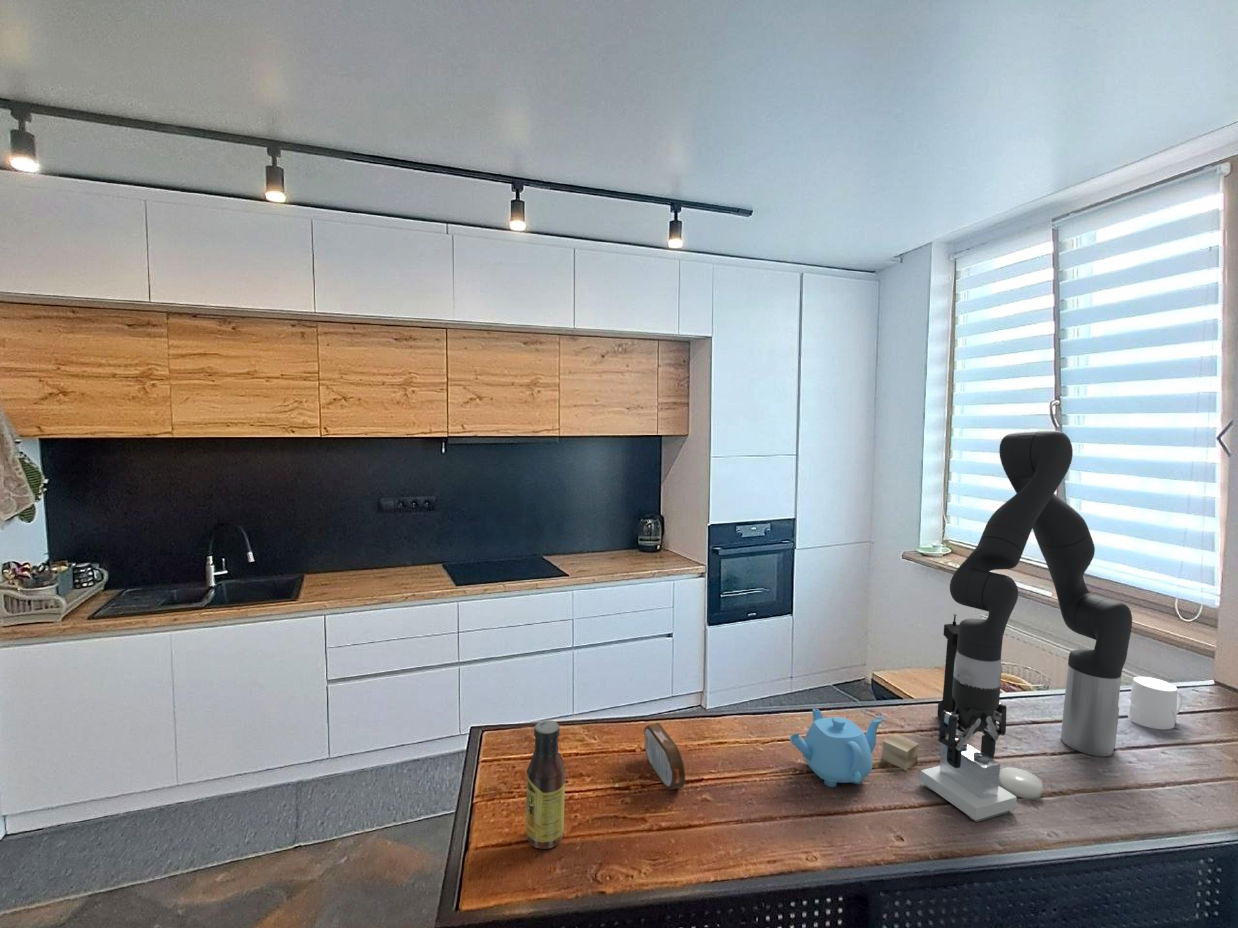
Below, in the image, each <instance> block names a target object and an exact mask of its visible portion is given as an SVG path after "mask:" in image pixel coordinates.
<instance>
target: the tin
mask: <svg viewBox="0 0 1238 928" xmlns="http://www.w3.org/2000/svg"><path fill="white" fill-rule="evenodd" d="M643 732H644V733H643V734H644V749H645V750H644V751H645V753H646V757H647V760H648V762H649V764H650V767H652V769H653V771H654V772H655V774H656V775H657V776H658V778H659V780H660V781H661V783H662V784H663V786H664V787H665V788H666V789H667V790H668V791H672V790H675V789H682V788H684V786H685V785H686V783H685V782H686V772H685V764H684V759H683V756H682V755H681V751H680V749H679V747H678V744H676V743H675V741H674V740H673V738H672V737H671V736H670V735H669V733H668V732H667V730H666V729H665V728H664V727H663V725H662V724H661V723H660V722H655V723H652V724H648V725H646V726H645V727H644V729H643Z"/></svg>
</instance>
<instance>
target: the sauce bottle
mask: <svg viewBox="0 0 1238 928" xmlns="http://www.w3.org/2000/svg"><path fill="white" fill-rule="evenodd" d="M533 729H534V730H533V736H534V738H535V739H534V742H535V743H534V750H533V751H534V752H533V754H532V756H531V759H530V762H529V765H528V767H527V770H526V791H525V792H526V796H525V797H526V803H525V804H526V805H525V808H526V809H525V810H526V811H525V817H526V818H525V832H526V839H527V841H528V843H529V844H530V846H531V847H533V848H536V849H540V850H546V849H547V850H548V849H551V848H554V847H556V846H558V845H559V844H560V842H561V841H562V838H563V836H564V828H565V797H566V796H565V795H566V794H565V793H566V791H565V790H566V777H565V770H566V768H565V766H566V765H565V761H564V759H563V757H562V755H561V754H560V752H559V736H560V724H559V723H558V722H557V721H554V720H550V719H544V720H541V721H539V722H537V723H536V724H535V725H534V728H533Z"/></svg>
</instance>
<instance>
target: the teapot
mask: <svg viewBox="0 0 1238 928" xmlns="http://www.w3.org/2000/svg"><path fill="white" fill-rule="evenodd" d="M821 711H822V710H819V708H812V722H813V723H811V725H810V727H809V728H808V730H807V732H806V734H805V737H804V739H803V738H802V736H801V735H799V734H798V733H793V734H791V736H790V738H789V742H791V744H792V745H793V746H794V747H795V748H796V749H797V750H798V751H799V752H800V753H801V754H802V756H803V758H804V760H805V762H806V765H808V767H809V768H810V769H811V771H813V773H814V774H815V775H817V776H818V778H820V779H822V780H824V782H823V784H824V785H825V786H827V787H829V788H835V787H836V786H837V783H852V784H855V785H861V784H863V781H862V780H863V779H866V777H867V776H869V775H870V773H871V772H872V770H873V756H872V755H873V754H872V753H873V752H874V750H875V748H876V744H877V731H878V727H879V726H880V724H881V723H882V722H883V721H884V719H885V717H882V716H880V717H876V718H874V719H873V720H872V721H871V722H870V723H869V725H868V727H867V730H866V732H864V731H863V730H862V729H861V728H860V727H859V726H858V725H857V724H856V723H854V722H853V721H852V720H850V719H848V718H845V717H840V716H833V717H831V716H830V717H824V716H823V715H822V713H821Z"/></svg>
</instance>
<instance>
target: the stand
mask: <svg viewBox="0 0 1238 928" xmlns="http://www.w3.org/2000/svg"><path fill="white" fill-rule="evenodd" d="M919 781H920V782H921V783H922V784H923V785H924V786H925V787H926V788H928V789H929V790H930V791H933V792H934V793H936V794H938V795H939V796H940V797H942V798H943V799H945V800H946V801H947V802H949V803H950V804H952V805H953V806H955V807H956V808H958V810H960V811H961V812H963V813H965V814H966V815H967V816H968V817H969V818H970V819H971V820H972V821H974V822H976V823H978V822H982V821H985V820H988V819H992V818H995V817H999V816H1002V815H1006V814H1008V813H1011V811H1013V810H1015V809H1017V800H1018V799H1017V798H1018V796H1015V795H1013V794H1011V793H1010V792H1008V791H1006V790H1005V789H1003V788H1002V787H1001V786H1000V785H999V786H998V795H996V796H993V797H989V798H985V799H980V798H979V797H977V796H976V795H974V794H973V793H971V792H970V791H968V790H967V789H965V788H964V787H962V786H961V785H959V784H958V783H956V782H955V781H953V780H952V779H950V778H949V777H947V776H946V775H944V774H943V773H941V772H940V765H938V766H937V765H936V766H933V767H930V768H929V767H928V768H925V769H922V770H920V780H919Z"/></svg>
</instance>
